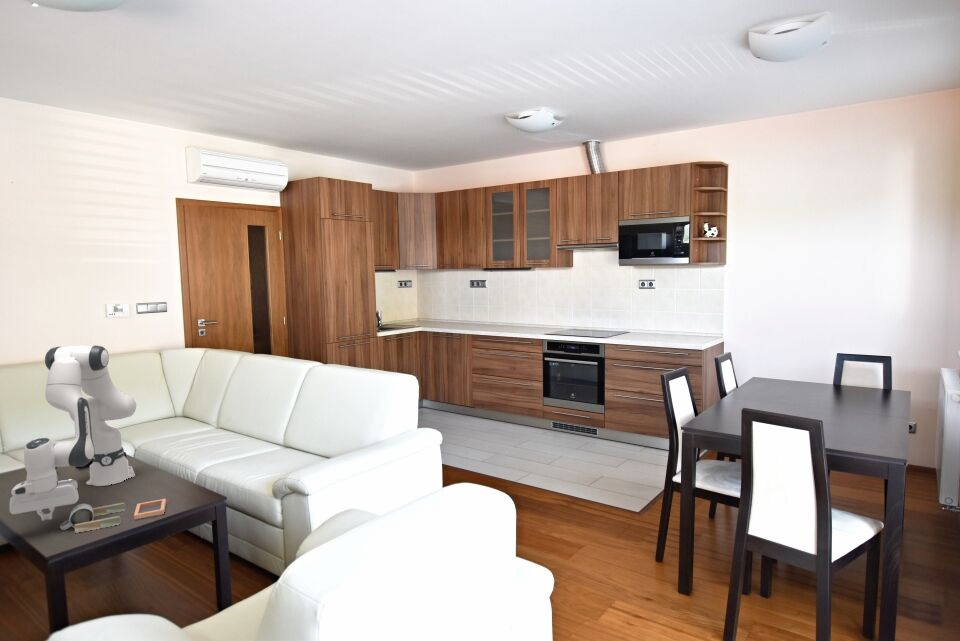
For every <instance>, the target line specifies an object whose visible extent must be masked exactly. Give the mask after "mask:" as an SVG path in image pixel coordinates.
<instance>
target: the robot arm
mask: <svg viewBox="0 0 960 641" xmlns="http://www.w3.org/2000/svg"><path fill="white" fill-rule="evenodd" d="M44 356H45V357H44V364H45V367H46V369H48V371H49V373H48V376H47V379H46V386H45V394H44V396H45V400H46V402H47V403H48V404H49V405H50V406H52V407H53V408H55V409H58V410H61V411H65V412H67V413H68V415H69V417H70V418H71V420H72V421H73V422H74V436H75V439H73V440H51V439H50V438H47V437H41V438H40V437H39V438H36V439H33V440H31V441H29V442H28V443H26V444H25V446H24V451H23V458H24V459H23V461H24V469H25V471H26V480H24V481H22V482H19V483H17V484H16V485H15V486H14V487H13V488H12V489H11V491H10V492H11V495H12V496H11V497H10V499H9V513H11V515H18V514H25V513H28V512H29V513H30V512H34V511H36V514H37V515H39V516H40V517H41V521H43V522H44V521H49V520H52V519H53V513H54V511H55V509H56V507H63V506H69V505H74V504H76V503H77V502H78V501H79V498H80V497H79V491H78V487H79V485H78V481H77V480H75V479H72V478H68V479H64V480H63V479H61V480H58V474H57V469H56V470H55V467H57V468H62V467H63V468H64V467H74V468H75V467H78V468H79V467H85V466H87V465H88V464H89V463H90V462H91V461H92V463H91V464H90V465H89V479H88V480H87V481H86V483H85V484H86V485H88V486H94V487H104V486H105V487H106V486H110V485H111V484H112V485H115V484H119V483H122V482H124V480H125V481H126V479H127V480H128V478H129V479H132V478H134V477H136V474H135V471H134V468H133V466H132V465H129V460H128V459H127V457H126V456H125V449H124V447H123V445H122V444H123V442H122V434H121V431H119V429H117V428H116V427H113V426H110V425H109V424H108V423H106V421H115V420H116V421H117V420H123V419H126V418H130V417H132V416H133V415H134V414H135V412H136V409H137V402H136V400H135V398H134V397H133V396H131V395H130V394H126V393H124V392H122V391H121V390H119V389H118V388H117V387H116V386H115V384H113V381H112V379H111V375H110V372H109V369H108V364H109V359H110V354H109V352H108V349H107V348H105V347H104V346H101V345H85V344H84V345H81V344H79V345H70V346H69V345H68V346H56V347H55V346H54V347H51V348H50V349H49V350H48V351H47V352H46V354H45V355H44ZM82 392H83V393H84V394H85V395H87V396H89V397H83V395H82ZM131 477H132V478H131ZM45 509H48V510H49V511H50V512H49V513H44V512H43V510H45Z"/></svg>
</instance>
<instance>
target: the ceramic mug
mask: <svg viewBox="0 0 960 641" xmlns="http://www.w3.org/2000/svg"><path fill="white" fill-rule="evenodd" d="M93 508H94V507H92V505H90V504H87V503H80V504H77V505H75V506H74V507H73V508H72V509H71V511H70V514H69V518H68V519H66V520H65V521H64V522H62V523H61V524H60V525H59V528H60V529H61V530H62V531H65V530H67V529H70V528H71V527H72V528H73V529H75V527H74V526H75V524H79V523H84V522H90V521H94V518H95V517H94V512H93Z"/></svg>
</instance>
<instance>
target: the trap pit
mask: <svg viewBox="0 0 960 641" xmlns="http://www.w3.org/2000/svg"><path fill="white" fill-rule="evenodd" d="M166 499H167V498H161V499H157V500H151V501H145V502H140V503H137V504H136V507H135V511H134V513H133V514H134V515H133V519H134V520H135V521H138V520H137V519H140V520H142V519H141V518H145V519H147V518H146V517H150V518H153V517H152V516H155V517H158V516H157V515H160V516H163V515H162V514H164V515H165V513H164V512H166V506H167V500H166Z"/></svg>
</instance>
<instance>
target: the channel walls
mask: <svg viewBox="0 0 960 641" xmlns="http://www.w3.org/2000/svg"><path fill="white" fill-rule="evenodd" d="M92 508H93V512H94V518H96V517H101V516H106V515H111V514H110V513H112V514H116V512H117V513H121V511H122V512H126V504H125V502H119V503H114V504H108V505H103V506H97V507H92ZM100 515H101V516H100ZM120 523H121V516H120V515H117V516H111V517H105V518H102V519H101V518H100V519H96V520H93V521H90V522H84V523H79V524H75V526H74V527H75V528H74V527H73V528H74V534H75V533H76V534H80V533H79V532H82V533H85V532H84V531H87V532H91V531H90V530H92V531H96V529H97V530H101V529H100V528H102V529H106V527H107V528H111V526H112V527H116V526H115V525H117V526H120V525H121V524H120ZM119 524H120V525H119Z"/></svg>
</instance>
